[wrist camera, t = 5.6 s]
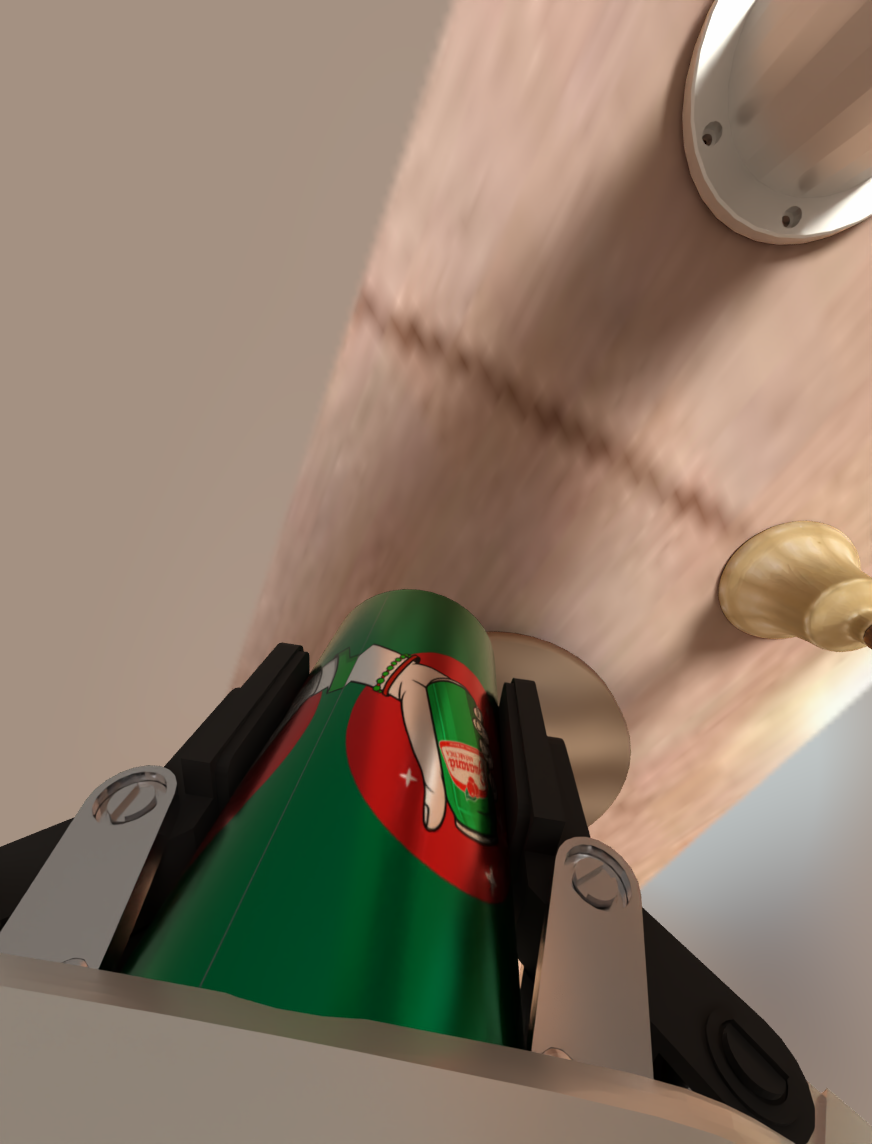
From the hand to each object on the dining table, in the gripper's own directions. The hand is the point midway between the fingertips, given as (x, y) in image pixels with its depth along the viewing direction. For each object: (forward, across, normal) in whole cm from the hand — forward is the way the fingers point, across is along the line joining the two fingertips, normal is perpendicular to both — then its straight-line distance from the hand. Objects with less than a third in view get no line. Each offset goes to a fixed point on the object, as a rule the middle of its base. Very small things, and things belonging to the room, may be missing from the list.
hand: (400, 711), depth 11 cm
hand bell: (+19, -23, 0) cm, 30 cm away
